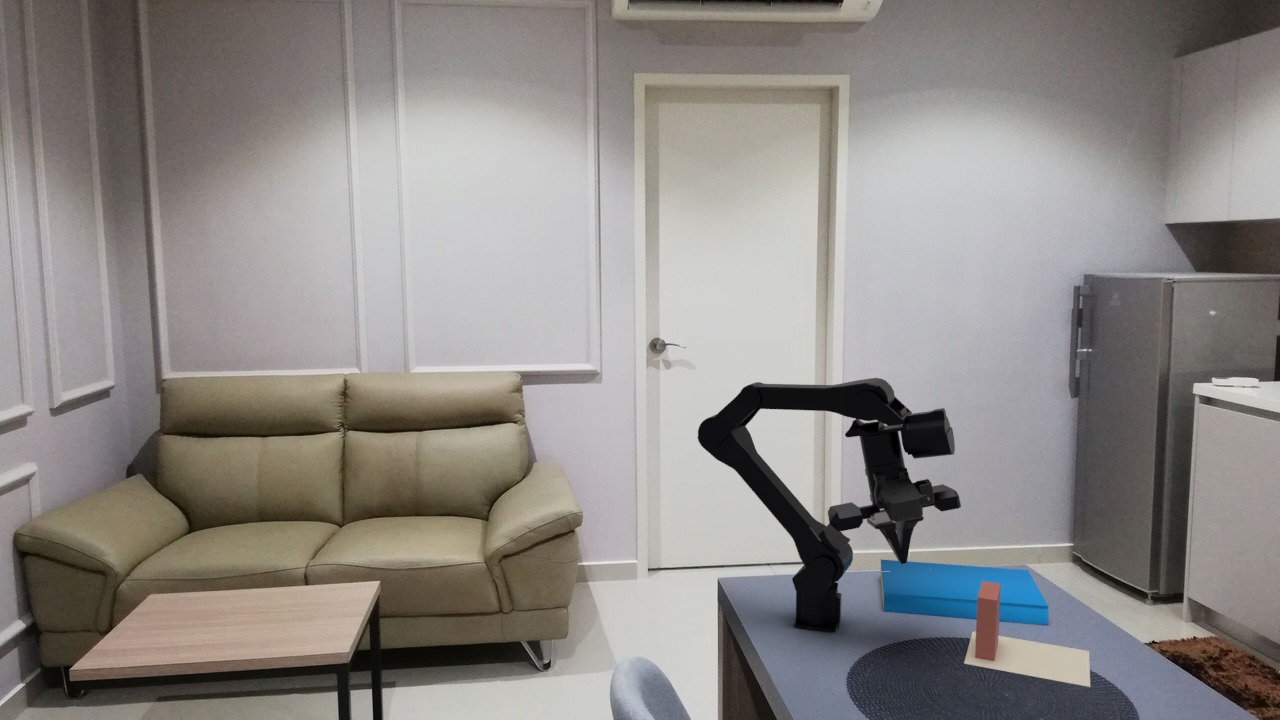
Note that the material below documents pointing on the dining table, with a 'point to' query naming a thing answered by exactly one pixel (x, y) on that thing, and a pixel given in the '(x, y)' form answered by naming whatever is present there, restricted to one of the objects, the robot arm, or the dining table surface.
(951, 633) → the dining table surface
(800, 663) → the dining table surface
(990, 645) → the card box
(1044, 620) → the book
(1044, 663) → the mat
